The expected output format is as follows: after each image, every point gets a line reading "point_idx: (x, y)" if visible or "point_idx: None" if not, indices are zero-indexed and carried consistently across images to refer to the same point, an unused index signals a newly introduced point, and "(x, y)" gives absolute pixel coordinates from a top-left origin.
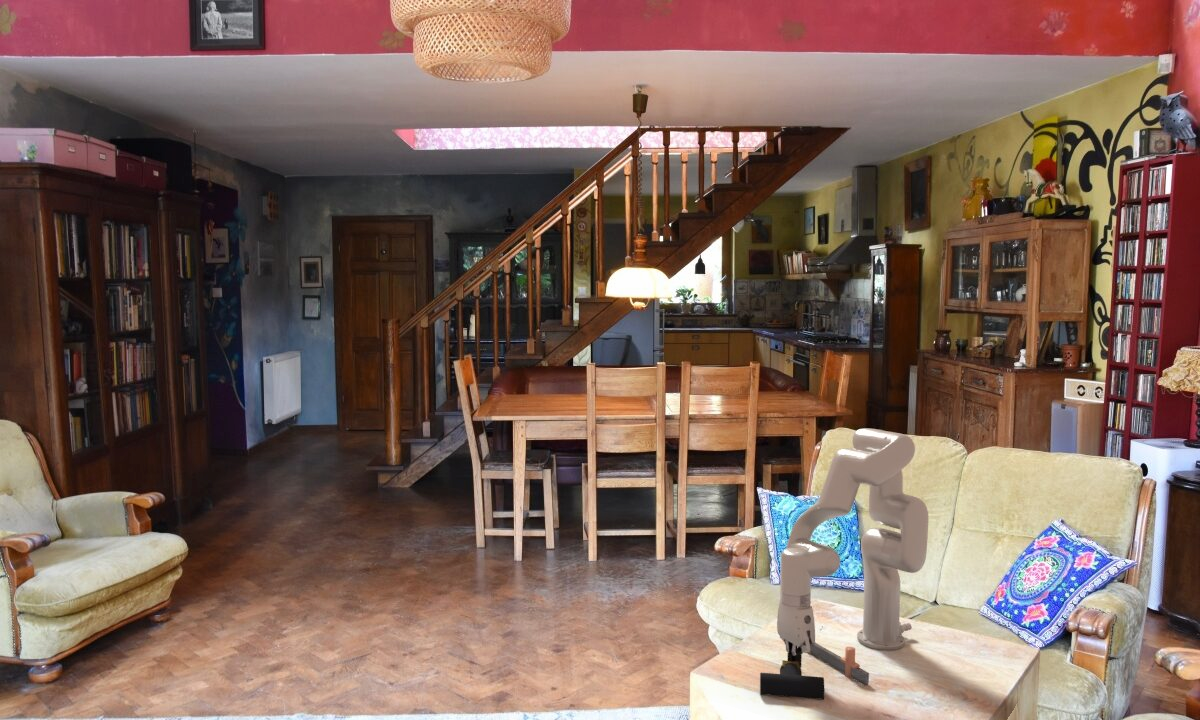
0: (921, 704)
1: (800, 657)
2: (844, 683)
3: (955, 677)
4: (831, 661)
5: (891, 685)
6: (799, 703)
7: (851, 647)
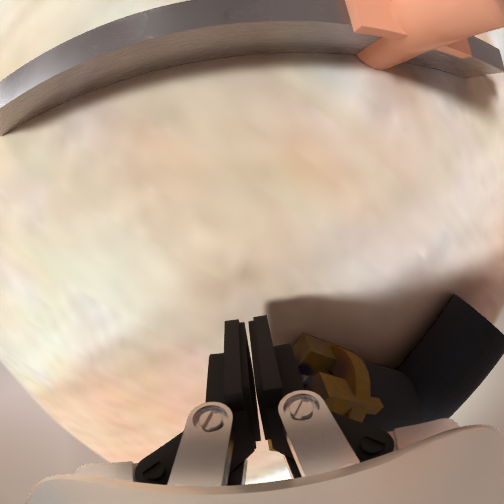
0: None
1: (303, 385)
2: (434, 137)
3: None
4: (231, 45)
5: None
6: None
7: None
